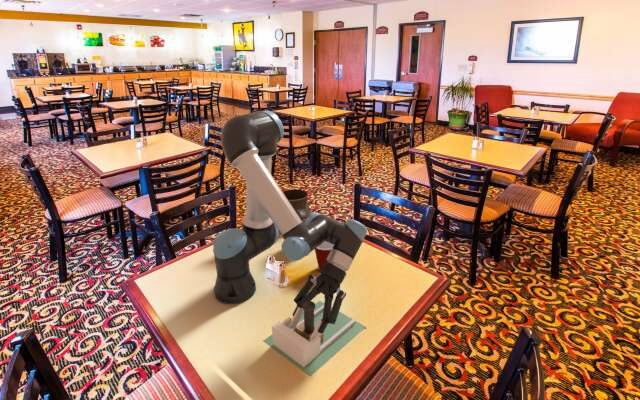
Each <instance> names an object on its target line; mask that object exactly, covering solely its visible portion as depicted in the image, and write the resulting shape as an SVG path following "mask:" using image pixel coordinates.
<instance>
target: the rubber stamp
mask: <svg viewBox="0 0 640 400" xmlns="http://www.w3.org/2000/svg"><path fill="white" fill-rule="evenodd" d="M315 304H316V303H315V302H314V301H312V300H311V301H306V302H304V303H303V305H302V309H303V310H304V322H303V323H301V324H300V325H298V326H297V327H296V333H297V334H299V335H300V336H302V337H303V338H305V339H306V340H308V341H309V340H310V338H311V336H312V334H313V332H314V330H315V327H314V309H315ZM319 337H320V343H321V342H323V341H324V333H323V334H321V333H320V335H319ZM309 342H310V341H309Z"/></svg>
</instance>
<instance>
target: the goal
mask: <svg viewBox="0 0 640 400" xmlns="http://www.w3.org/2000/svg"><path fill="white" fill-rule="evenodd" d="M291 320H292V317H290V316H288V317H287V318H285V319H284V320H283V321H278V322H277V323H275V324H273V325H271V332H272V333H271V335H273V345H275V346H276V347H277V348H279V349H280V350H281V351H283V352H284V353H285V354H287V355H288V356H289V357H291V358H292V359H293V360H295V361H296V362H297V363H299V364H300V365H301V366H303V367H305V366H306V365H307V364H308V363H310V362H311V361H312V360H313V359H314V358H315V357H317V356H318V355H319V354H320V353H321V349H320V337H319V336H317V337H315V338H314V339H313V340H312V341H310V342H309V341H308V340H306V339H305V338H303V337H302V336H300V335H299V334H297V333H296V332H294V331H293V330H292V328H289V327H288V326H289V324H290V322H291Z"/></svg>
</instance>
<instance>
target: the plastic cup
mask: <svg viewBox="0 0 640 400" xmlns="http://www.w3.org/2000/svg"><path fill="white" fill-rule="evenodd" d="M333 246H334V244H331V243H329V242H327V241H325V242H323V243H322V244H321V245H319V246H318V247H317V248H315V249H314V252H315V256H316V257H315V258H316V263H317V266H318V270H319V271H320V272H321V269H322V267H323V265H324V264H325V263H326V262H328V261H327V258H328V256H329V254H330V252H331V250H332V248H333Z"/></svg>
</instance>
